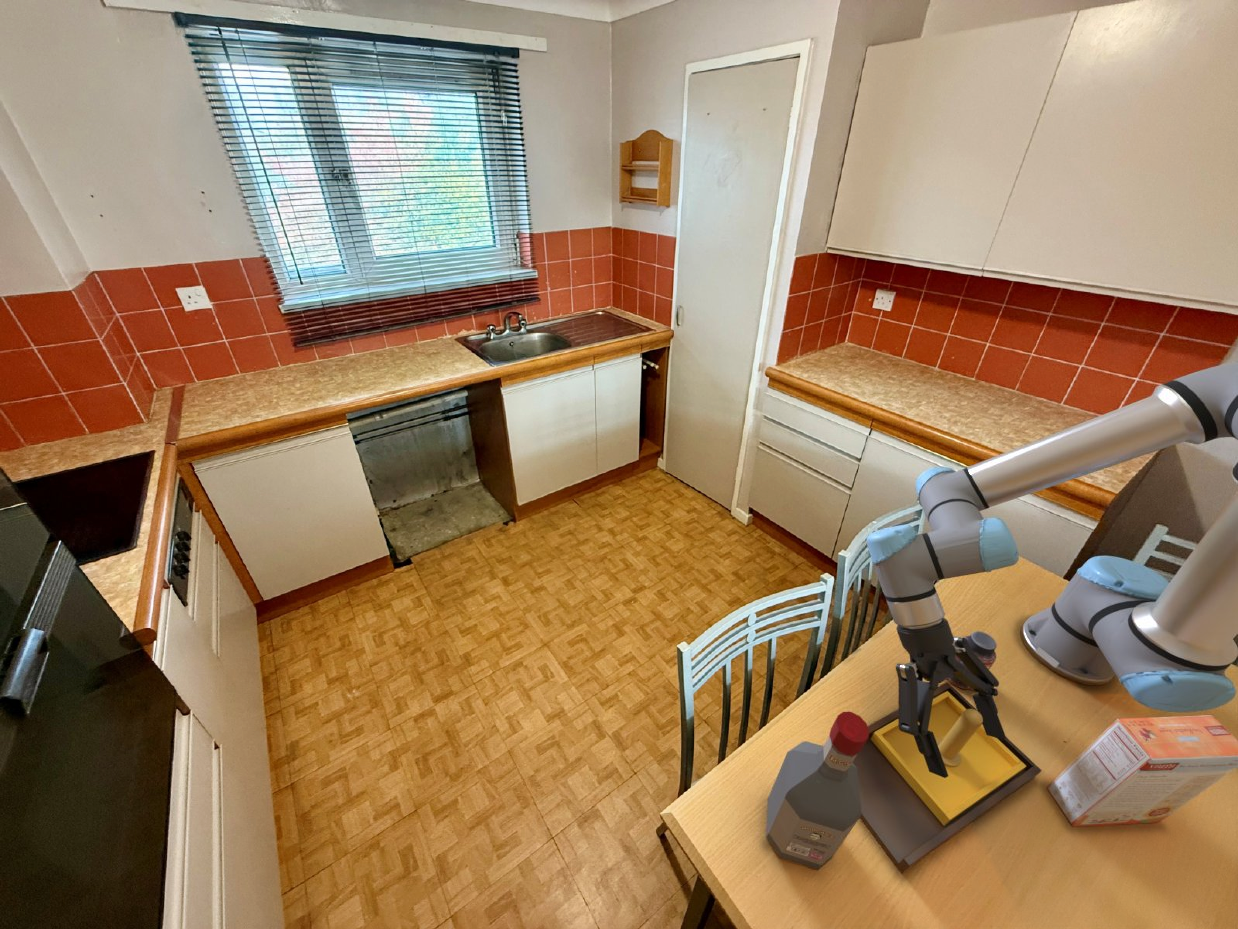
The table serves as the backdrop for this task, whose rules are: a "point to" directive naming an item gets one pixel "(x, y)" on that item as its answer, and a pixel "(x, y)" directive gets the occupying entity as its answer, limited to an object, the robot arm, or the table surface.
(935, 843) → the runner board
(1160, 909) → the table surface
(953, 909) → the table surface
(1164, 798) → the cracker box
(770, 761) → the table surface
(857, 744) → the liquor
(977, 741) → the tray
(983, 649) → the supplement bottle
